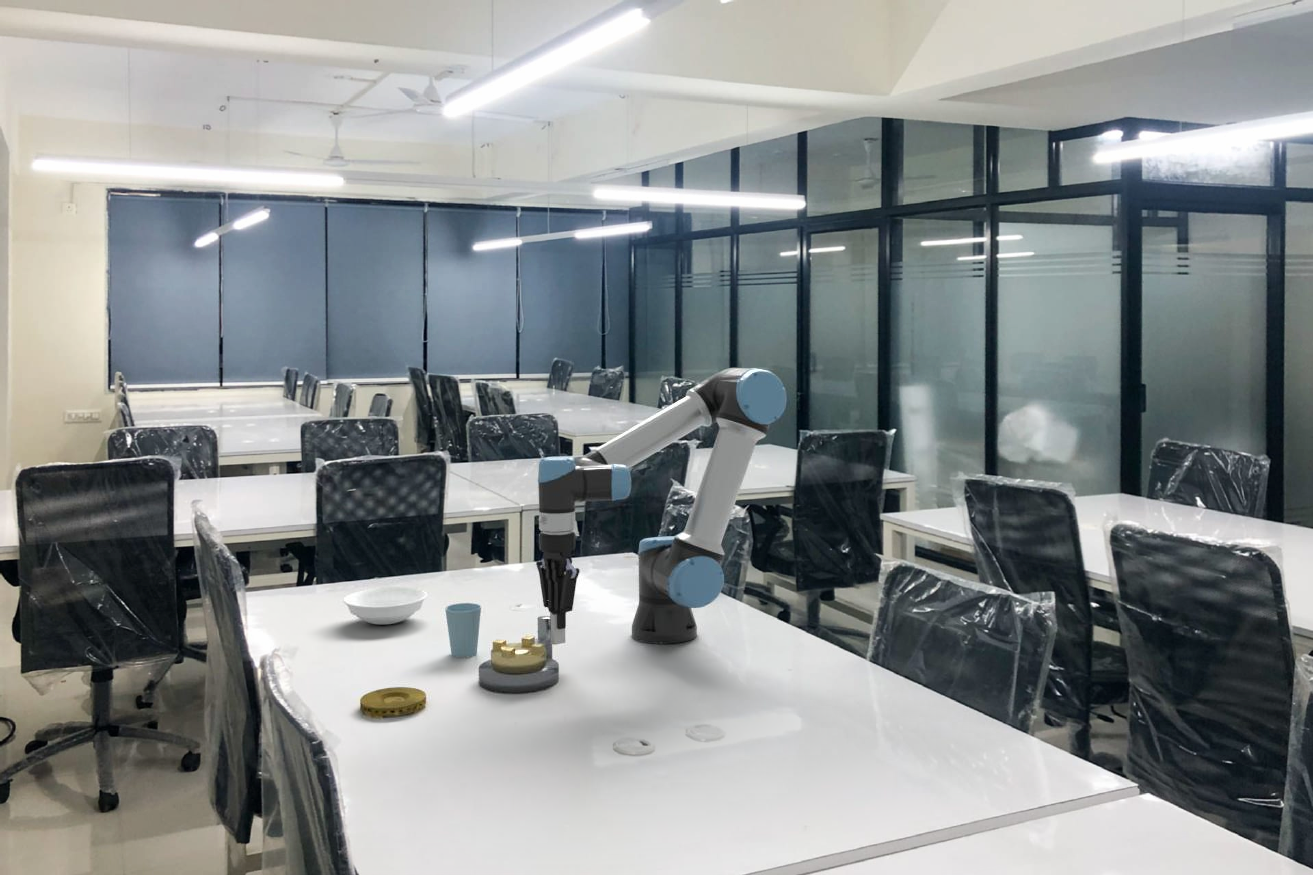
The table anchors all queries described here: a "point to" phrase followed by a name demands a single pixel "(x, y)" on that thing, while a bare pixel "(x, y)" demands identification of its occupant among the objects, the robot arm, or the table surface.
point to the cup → (463, 628)
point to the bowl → (385, 604)
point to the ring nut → (524, 651)
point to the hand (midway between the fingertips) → (558, 642)
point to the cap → (519, 679)
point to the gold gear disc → (393, 702)
